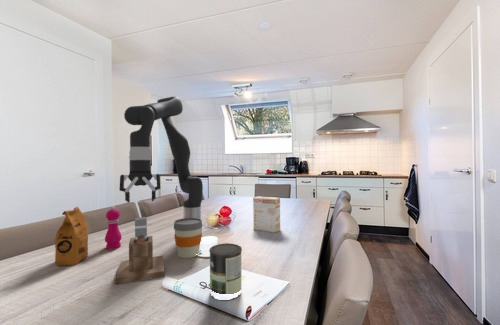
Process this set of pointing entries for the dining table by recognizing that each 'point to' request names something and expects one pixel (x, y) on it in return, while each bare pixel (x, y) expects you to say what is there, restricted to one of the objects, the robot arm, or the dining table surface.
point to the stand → (140, 262)
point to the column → (141, 228)
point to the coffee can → (225, 268)
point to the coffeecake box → (266, 213)
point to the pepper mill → (113, 229)
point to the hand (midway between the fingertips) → (140, 201)
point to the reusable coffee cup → (188, 236)
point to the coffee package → (71, 239)
